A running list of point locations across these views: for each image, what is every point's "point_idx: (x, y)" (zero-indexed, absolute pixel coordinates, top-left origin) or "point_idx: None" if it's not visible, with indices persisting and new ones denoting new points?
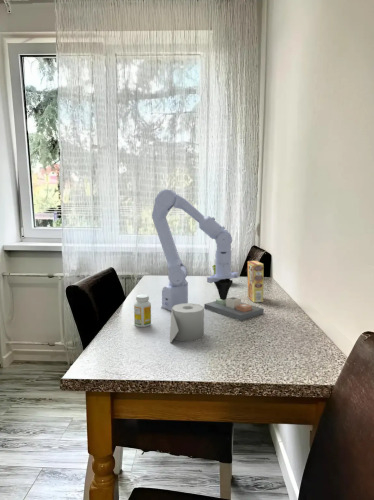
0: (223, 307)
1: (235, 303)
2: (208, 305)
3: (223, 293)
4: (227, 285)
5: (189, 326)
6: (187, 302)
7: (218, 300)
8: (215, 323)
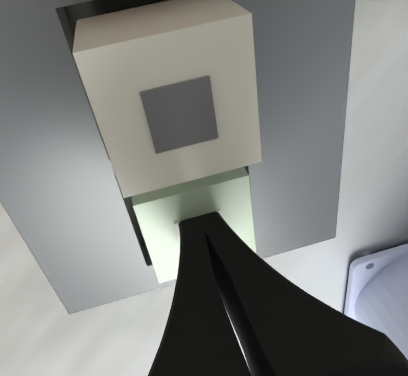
0: (287, 83)
1: (194, 12)
2: (336, 198)
3: (256, 256)
4: (240, 355)
5: None
6: (402, 286)
7: (252, 228)
8: None
